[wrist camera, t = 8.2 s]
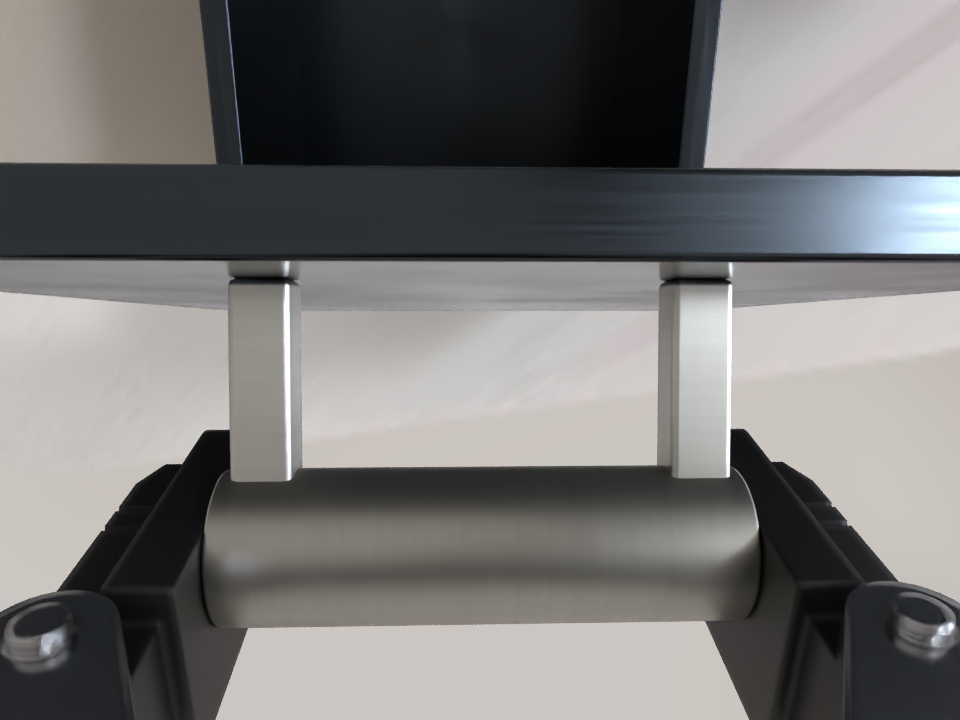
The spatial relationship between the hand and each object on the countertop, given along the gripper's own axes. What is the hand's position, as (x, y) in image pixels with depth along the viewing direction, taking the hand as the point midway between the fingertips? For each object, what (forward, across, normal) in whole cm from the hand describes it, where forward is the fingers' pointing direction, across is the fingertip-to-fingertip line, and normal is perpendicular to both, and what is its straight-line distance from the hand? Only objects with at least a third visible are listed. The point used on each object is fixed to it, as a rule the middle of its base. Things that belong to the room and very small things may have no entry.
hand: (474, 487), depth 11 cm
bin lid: (+5, 0, -2) cm, 5 cm away
